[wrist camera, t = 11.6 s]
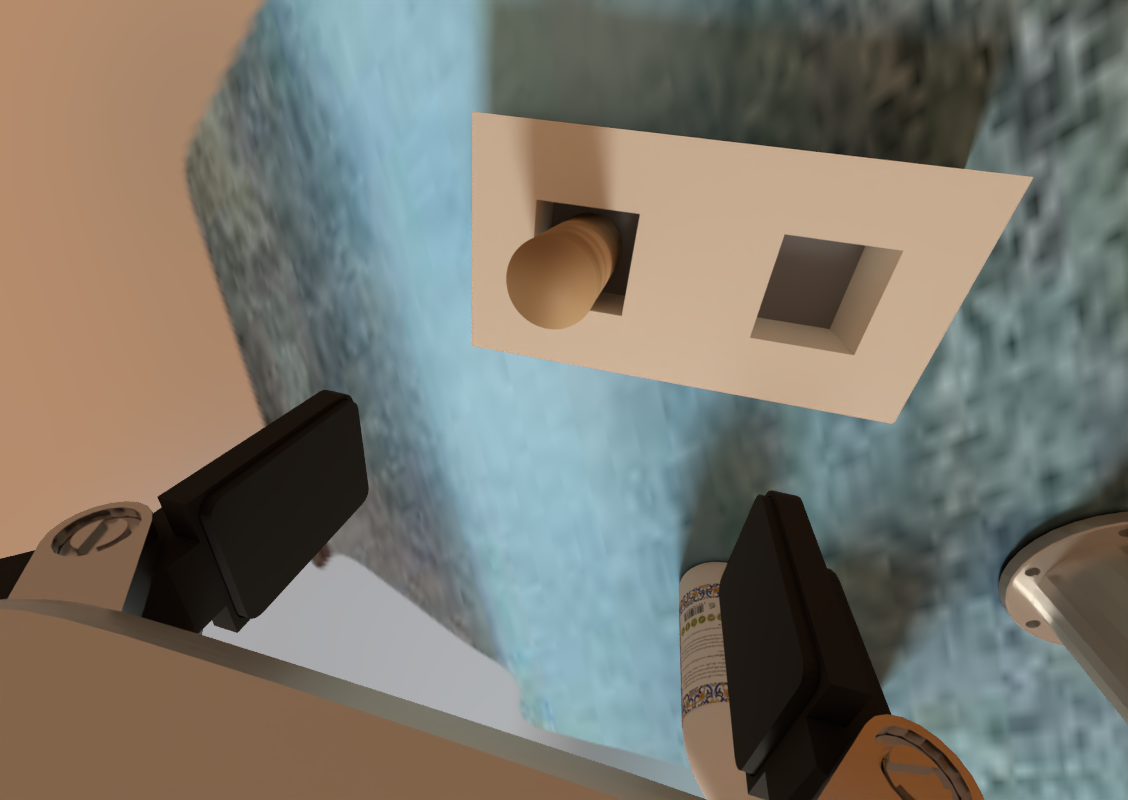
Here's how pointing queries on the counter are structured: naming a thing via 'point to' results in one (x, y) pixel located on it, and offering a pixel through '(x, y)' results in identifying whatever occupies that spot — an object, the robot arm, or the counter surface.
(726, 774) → the bath foam
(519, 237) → the hole block
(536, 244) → the oak pin
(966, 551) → the counter surface
